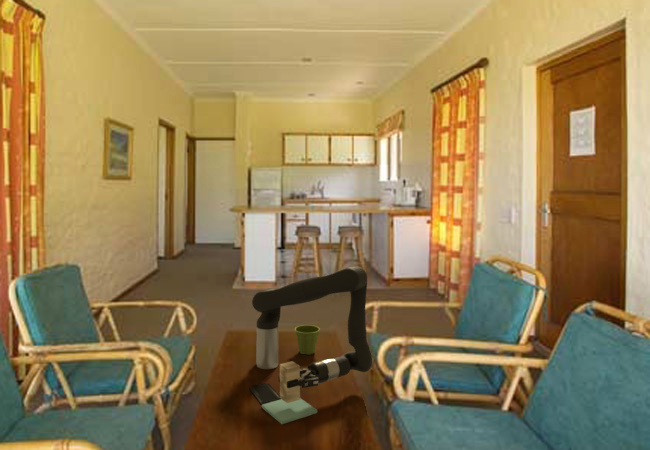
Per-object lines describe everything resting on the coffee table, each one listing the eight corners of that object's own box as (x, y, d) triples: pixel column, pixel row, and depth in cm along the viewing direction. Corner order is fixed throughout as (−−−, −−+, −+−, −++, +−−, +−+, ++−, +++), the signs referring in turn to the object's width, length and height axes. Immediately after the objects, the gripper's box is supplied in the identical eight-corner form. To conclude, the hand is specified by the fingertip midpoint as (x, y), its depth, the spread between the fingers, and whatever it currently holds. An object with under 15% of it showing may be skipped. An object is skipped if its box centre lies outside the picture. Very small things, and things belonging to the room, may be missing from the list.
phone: (267, 382, 184) (282, 398, 171) (267, 385, 184) (282, 401, 171) (248, 386, 181) (261, 402, 167) (248, 389, 181) (261, 405, 168)
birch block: (280, 397, 164) (279, 364, 163) (292, 394, 167) (292, 361, 166) (287, 403, 160) (287, 368, 159) (299, 399, 162) (299, 365, 161)
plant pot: (289, 353, 218) (289, 329, 217) (303, 346, 228) (303, 323, 227) (310, 358, 212) (310, 334, 211) (324, 351, 222) (324, 327, 221)
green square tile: (261, 407, 165) (261, 404, 165) (295, 397, 173) (295, 394, 173) (281, 424, 154) (281, 421, 154) (317, 412, 162) (317, 410, 162)
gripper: (312, 355, 176) (272, 365, 166) (335, 367, 165) (293, 378, 155) (312, 374, 177) (272, 385, 167) (335, 387, 165) (294, 400, 155)
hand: (283, 382), depth 161 cm, fingers closed on birch block, 5 cm apart
